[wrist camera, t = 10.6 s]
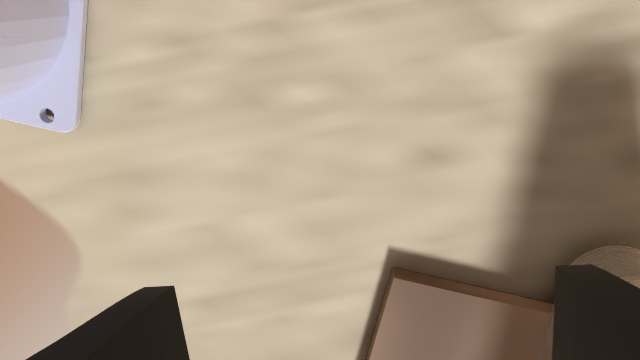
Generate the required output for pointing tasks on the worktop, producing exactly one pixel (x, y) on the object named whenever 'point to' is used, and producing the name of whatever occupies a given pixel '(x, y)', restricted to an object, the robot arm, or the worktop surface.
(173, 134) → the worktop surface
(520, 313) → the walnut board
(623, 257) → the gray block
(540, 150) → the worktop surface
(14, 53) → the robot arm
